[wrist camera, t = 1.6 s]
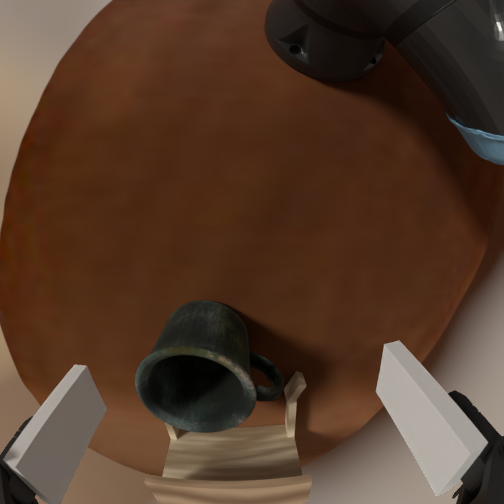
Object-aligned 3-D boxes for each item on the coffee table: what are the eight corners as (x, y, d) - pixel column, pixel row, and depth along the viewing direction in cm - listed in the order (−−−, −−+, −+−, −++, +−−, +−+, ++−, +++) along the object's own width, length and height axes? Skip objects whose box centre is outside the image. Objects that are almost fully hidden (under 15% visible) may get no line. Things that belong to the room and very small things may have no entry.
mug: (170, 284, 32) (137, 332, 21) (288, 313, 34) (309, 370, 22) (159, 356, 34) (133, 416, 23) (263, 380, 36) (271, 445, 24)
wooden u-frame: (150, 374, 35) (117, 453, 20) (302, 370, 36) (329, 454, 21) (169, 431, 38) (152, 502, 23) (298, 428, 38) (315, 502, 23)
